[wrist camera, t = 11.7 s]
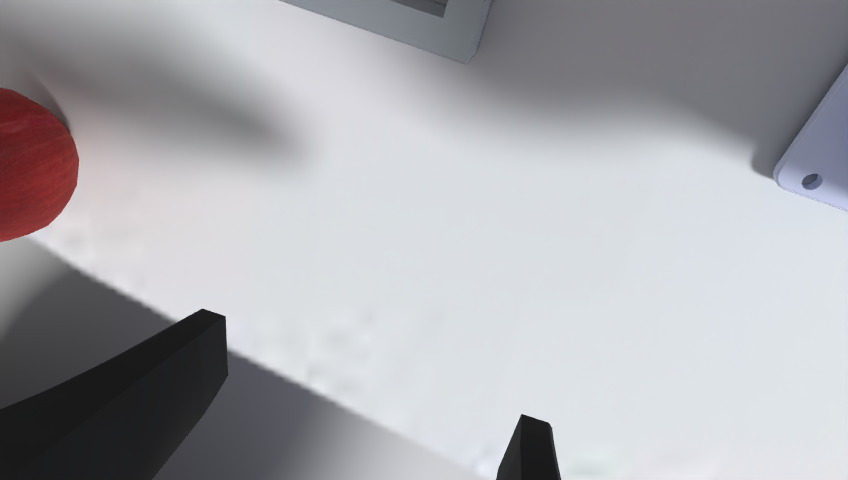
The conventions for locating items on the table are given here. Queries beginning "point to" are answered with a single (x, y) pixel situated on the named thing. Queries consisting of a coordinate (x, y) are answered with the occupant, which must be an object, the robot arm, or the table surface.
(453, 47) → the collar
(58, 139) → the onion
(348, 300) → the table surface
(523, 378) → the table surface
